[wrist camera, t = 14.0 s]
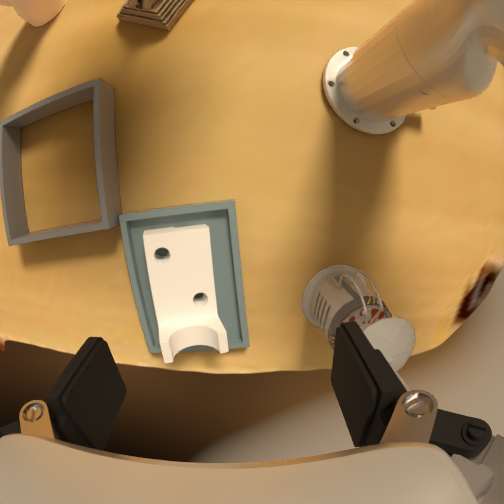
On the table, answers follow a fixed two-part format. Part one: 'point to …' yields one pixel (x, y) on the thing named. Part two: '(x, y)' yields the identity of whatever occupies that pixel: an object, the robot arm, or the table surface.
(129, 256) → the tray
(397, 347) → the french press
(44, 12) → the water bottle
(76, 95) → the bin
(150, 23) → the banker's lamp
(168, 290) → the bracket
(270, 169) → the table surface
